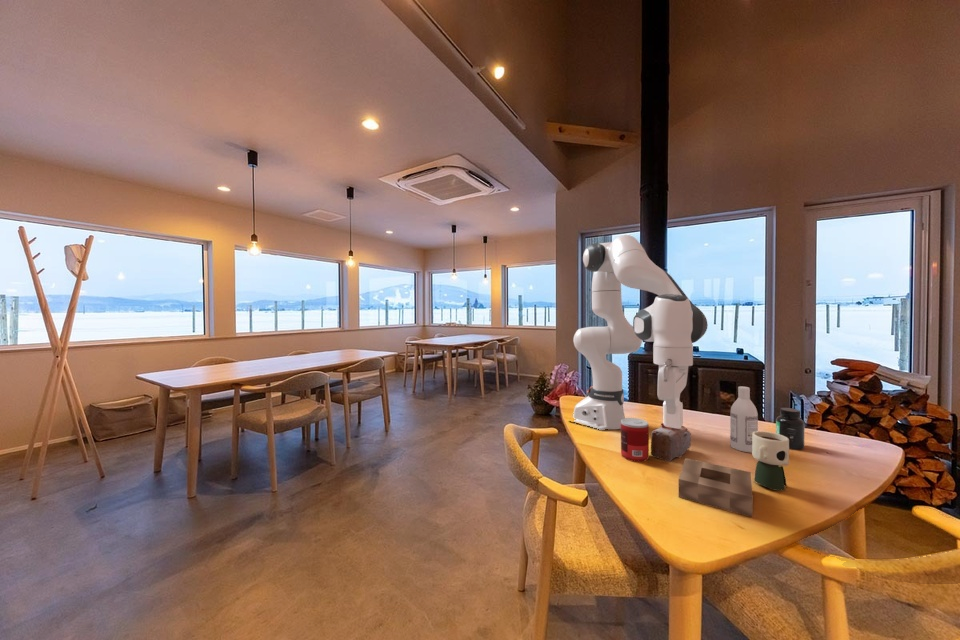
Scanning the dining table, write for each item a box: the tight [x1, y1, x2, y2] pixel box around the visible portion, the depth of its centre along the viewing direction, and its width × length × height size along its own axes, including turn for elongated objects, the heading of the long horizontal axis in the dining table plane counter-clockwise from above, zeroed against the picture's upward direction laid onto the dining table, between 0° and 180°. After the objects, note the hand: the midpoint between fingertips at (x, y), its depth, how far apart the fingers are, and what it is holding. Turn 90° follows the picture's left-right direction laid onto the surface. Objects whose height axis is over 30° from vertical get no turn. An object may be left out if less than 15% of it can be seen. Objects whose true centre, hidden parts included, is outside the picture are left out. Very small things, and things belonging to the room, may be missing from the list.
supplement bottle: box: [775, 407, 805, 451], centre depth 110 cm, size 7×7×12 cm
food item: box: [650, 422, 692, 463], centre depth 106 cm, size 14×8×10 cm, turn 129°
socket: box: [678, 457, 754, 519], centre depth 83 cm, size 14×14×4 cm
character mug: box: [751, 430, 790, 491], centre depth 86 cm, size 11×7×13 cm, turn 119°
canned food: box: [620, 417, 650, 463], centre depth 105 cm, size 8×8×11 cm
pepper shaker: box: [662, 393, 684, 429], centre depth 87 cm, size 4×4×10 cm
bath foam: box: [729, 385, 759, 454], centre depth 109 cm, size 7×7×20 cm
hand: (672, 411), depth 87 cm, fingers closed on pepper shaker, 4 cm apart
